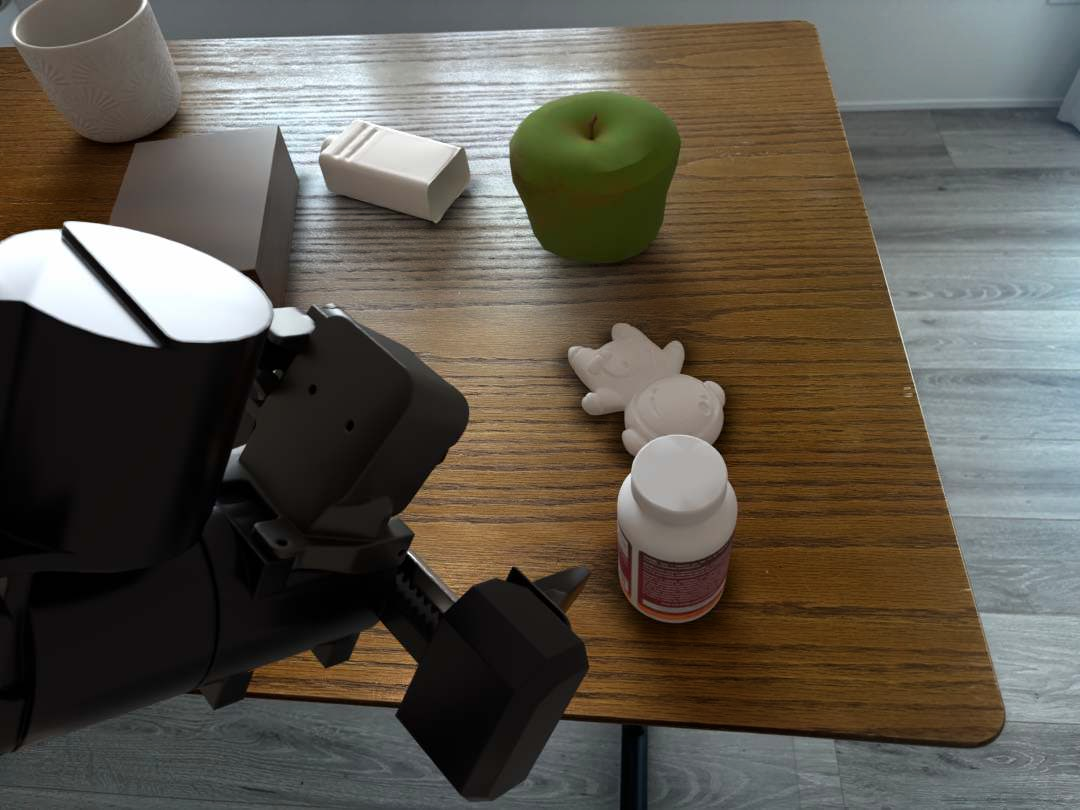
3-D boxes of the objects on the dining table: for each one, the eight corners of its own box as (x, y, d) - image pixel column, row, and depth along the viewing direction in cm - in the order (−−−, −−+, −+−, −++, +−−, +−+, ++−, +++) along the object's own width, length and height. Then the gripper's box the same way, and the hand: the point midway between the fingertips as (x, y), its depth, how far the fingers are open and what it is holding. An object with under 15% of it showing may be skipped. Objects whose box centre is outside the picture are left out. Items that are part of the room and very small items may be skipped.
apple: (661, 181, 72) (666, 58, 64) (685, 279, 65) (695, 154, 56) (517, 197, 73) (502, 76, 64) (524, 295, 65) (508, 174, 56)
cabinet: (281, 325, 65) (255, 269, 61) (122, 346, 65) (84, 291, 61) (299, 181, 77) (278, 124, 72) (164, 198, 77) (135, 142, 72)
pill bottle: (746, 575, 49) (772, 470, 41) (678, 648, 47) (689, 553, 38) (665, 512, 52) (672, 402, 44) (596, 578, 50) (590, 475, 41)
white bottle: (355, 151, 79) (343, 111, 76) (472, 182, 74) (465, 141, 71) (313, 192, 76) (299, 152, 72) (434, 227, 71) (424, 186, 68)
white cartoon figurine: (650, 318, 63) (651, 288, 60) (750, 429, 56) (755, 400, 53) (547, 366, 60) (544, 337, 58) (637, 487, 54) (638, 460, 51)
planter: (76, 170, 81) (10, 64, 72) (66, 107, 88) (6, 4, 79) (203, 131, 83) (155, 23, 75) (183, 73, 90) (137, -31, 82)
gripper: (469, 594, 17) (777, 488, 29) (87, 204, 26) (442, 248, 38) (309, 929, 21) (637, 713, 33) (28, 491, 30) (365, 448, 43)
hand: (510, 510), depth 37 cm, fingers open, 9 cm apart
